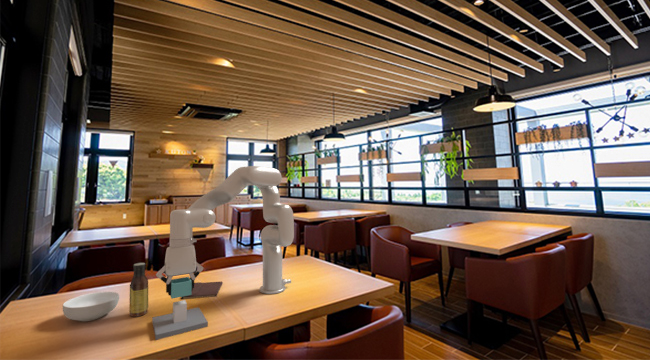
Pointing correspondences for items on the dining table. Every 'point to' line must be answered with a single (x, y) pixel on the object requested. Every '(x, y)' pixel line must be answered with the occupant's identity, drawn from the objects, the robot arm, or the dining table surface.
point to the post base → (178, 327)
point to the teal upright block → (180, 287)
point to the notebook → (204, 290)
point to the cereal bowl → (90, 306)
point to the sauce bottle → (138, 291)
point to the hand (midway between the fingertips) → (180, 291)
